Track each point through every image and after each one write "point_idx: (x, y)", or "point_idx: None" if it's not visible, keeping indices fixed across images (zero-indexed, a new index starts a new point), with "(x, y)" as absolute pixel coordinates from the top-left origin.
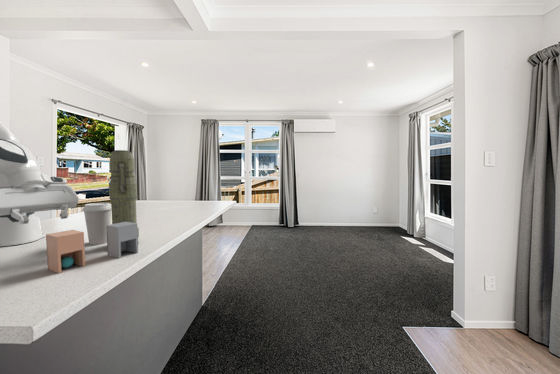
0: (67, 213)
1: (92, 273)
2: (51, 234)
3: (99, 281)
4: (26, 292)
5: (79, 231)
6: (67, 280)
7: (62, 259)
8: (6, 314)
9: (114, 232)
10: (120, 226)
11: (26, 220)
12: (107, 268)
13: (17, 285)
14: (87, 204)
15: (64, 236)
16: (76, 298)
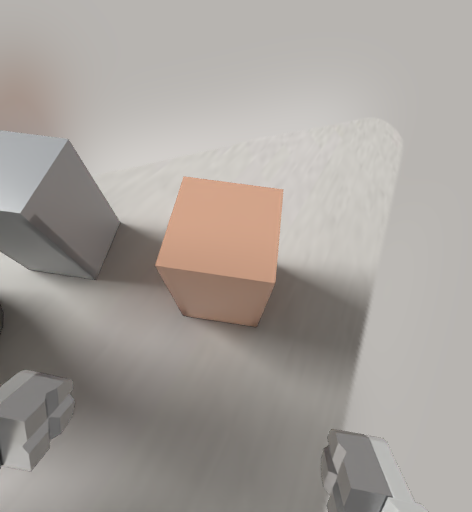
0: (8, 381)
1: None
2: (264, 255)
3: (257, 148)
4: (353, 216)
5: (178, 200)
6: None
7: None
8: (397, 164)
9: (70, 180)
10: (54, 138)
11: (348, 434)
12: None
13: (351, 273)
14: None
15: (256, 188)
16: (316, 129)
